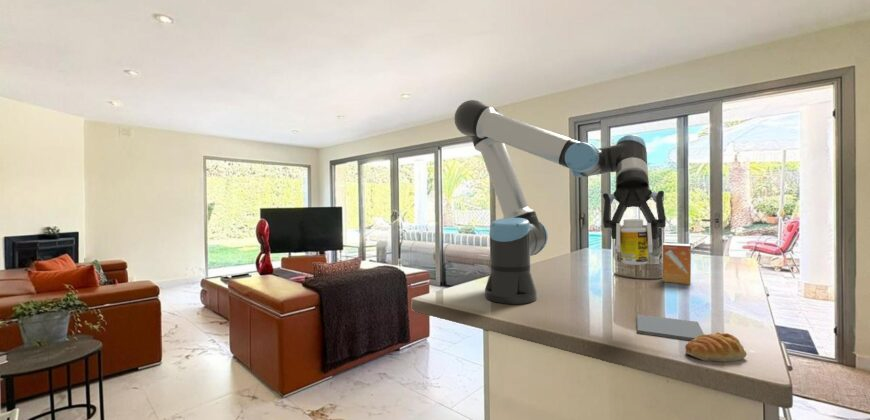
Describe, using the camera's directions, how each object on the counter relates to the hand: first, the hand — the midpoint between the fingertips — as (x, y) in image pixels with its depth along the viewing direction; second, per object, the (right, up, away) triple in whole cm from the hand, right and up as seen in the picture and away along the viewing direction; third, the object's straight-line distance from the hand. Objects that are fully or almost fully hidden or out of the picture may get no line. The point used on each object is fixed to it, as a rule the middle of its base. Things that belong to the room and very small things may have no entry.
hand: (634, 248), depth 80 cm
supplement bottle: (+2, -4, +3) cm, 6 cm away
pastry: (+7, -18, -14) cm, 24 cm away
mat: (+7, -18, -1) cm, 19 cm away
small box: (+39, -16, +44) cm, 61 cm away
